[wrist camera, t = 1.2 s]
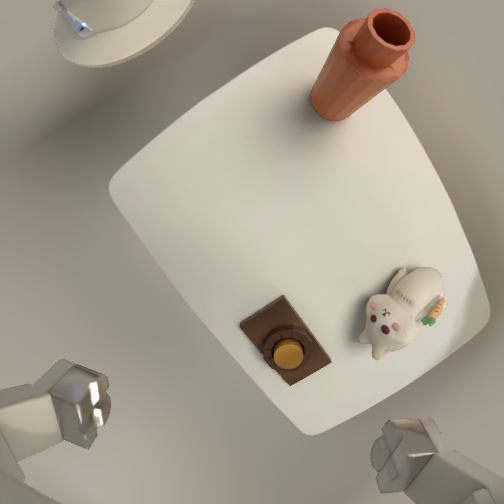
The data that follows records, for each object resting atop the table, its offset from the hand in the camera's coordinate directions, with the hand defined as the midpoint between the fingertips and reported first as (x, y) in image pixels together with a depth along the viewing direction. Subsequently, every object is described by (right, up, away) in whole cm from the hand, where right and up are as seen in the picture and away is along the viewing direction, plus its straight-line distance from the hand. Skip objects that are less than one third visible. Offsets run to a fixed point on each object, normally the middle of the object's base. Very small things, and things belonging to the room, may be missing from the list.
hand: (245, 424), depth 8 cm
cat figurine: (+21, -2, +35) cm, 41 cm away
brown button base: (+5, -8, +37) cm, 38 cm away
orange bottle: (+11, +25, +29) cm, 40 cm away
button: (+5, -9, +34) cm, 36 cm away
